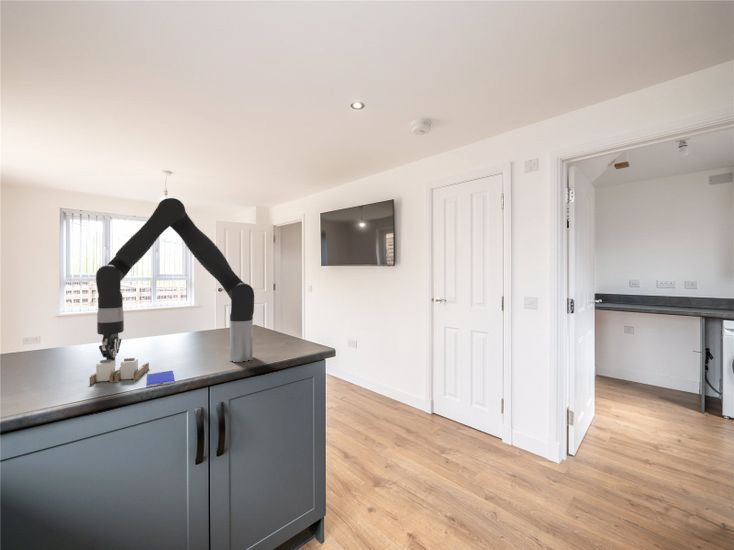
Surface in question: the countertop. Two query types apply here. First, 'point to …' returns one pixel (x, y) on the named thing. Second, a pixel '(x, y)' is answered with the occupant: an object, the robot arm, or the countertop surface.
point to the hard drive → (160, 378)
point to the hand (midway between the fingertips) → (111, 367)
